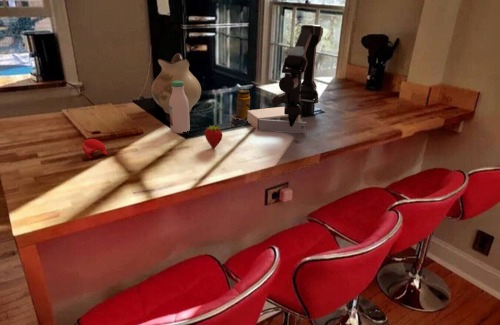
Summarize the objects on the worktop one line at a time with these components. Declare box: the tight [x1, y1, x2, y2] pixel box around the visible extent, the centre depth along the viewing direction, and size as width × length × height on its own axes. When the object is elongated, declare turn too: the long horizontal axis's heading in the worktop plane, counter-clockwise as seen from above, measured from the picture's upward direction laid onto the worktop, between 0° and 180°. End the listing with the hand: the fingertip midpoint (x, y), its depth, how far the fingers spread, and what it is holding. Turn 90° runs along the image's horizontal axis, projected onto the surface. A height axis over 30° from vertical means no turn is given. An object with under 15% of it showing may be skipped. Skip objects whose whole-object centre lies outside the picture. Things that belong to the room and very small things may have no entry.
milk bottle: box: [169, 81, 191, 134], centre depth 149 cm, size 8×8×20 cm
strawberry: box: [204, 122, 223, 149], centre depth 135 cm, size 6×8×10 cm
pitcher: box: [151, 52, 202, 115], centre depth 172 cm, size 22×24×25 cm
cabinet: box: [246, 106, 301, 130], centre depth 163 cm, size 20×11×5 cm, turn 113°
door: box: [256, 119, 307, 134], centre depth 152 cm, size 20×2×5 cm, turn 83°
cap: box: [81, 138, 108, 159], centre depth 128 cm, size 8×6×6 cm
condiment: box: [229, 89, 251, 121], centre depth 168 cm, size 7×8×12 cm
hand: (291, 126), depth 151 cm, fingers closed
